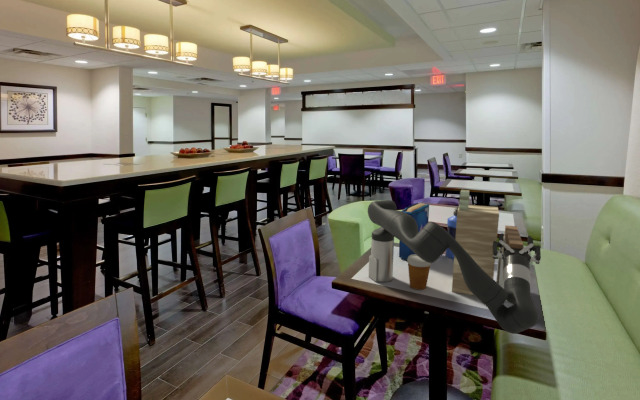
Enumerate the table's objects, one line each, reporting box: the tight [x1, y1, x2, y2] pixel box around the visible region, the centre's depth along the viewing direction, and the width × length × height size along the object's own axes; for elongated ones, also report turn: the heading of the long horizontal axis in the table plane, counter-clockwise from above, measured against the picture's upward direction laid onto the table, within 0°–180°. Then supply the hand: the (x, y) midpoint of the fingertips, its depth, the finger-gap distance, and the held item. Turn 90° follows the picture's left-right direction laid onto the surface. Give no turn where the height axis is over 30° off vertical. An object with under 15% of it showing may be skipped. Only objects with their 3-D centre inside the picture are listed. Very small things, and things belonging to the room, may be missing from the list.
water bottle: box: [445, 206, 459, 260], centre depth 181 cm, size 9×9×25 cm
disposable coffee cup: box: [406, 254, 432, 291], centre depth 147 cm, size 10×10×12 cm
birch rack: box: [451, 189, 500, 296], centre depth 143 cm, size 14×14×39 cm
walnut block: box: [503, 225, 524, 249], centre depth 134 cm, size 26×4×4 cm, turn 157°
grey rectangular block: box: [495, 235, 525, 303], centre depth 139 cm, size 15×7×20 cm, turn 157°
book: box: [398, 202, 430, 261], centre depth 183 cm, size 22×7×25 cm, turn 143°
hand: (515, 236), depth 127 cm, fingers open, 8 cm apart
